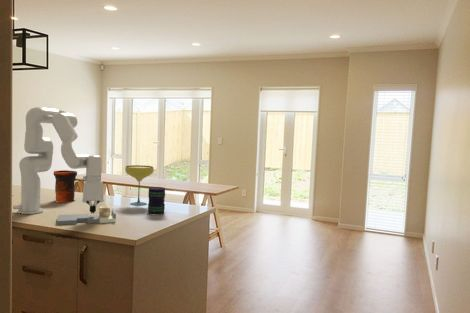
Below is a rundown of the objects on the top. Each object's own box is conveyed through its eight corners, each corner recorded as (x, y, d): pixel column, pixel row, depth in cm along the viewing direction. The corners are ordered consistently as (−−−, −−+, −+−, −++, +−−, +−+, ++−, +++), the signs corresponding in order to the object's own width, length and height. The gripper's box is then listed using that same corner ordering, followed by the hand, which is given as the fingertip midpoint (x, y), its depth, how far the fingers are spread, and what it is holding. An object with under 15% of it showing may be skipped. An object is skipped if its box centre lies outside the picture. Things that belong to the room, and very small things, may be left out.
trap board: (57, 224, 188) (57, 216, 188) (58, 218, 201) (58, 210, 201) (115, 222, 199) (116, 213, 199) (113, 216, 212) (113, 208, 212)
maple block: (99, 217, 199) (99, 208, 199) (100, 215, 204) (100, 206, 204) (108, 217, 200) (109, 208, 200) (109, 215, 205) (110, 206, 205)
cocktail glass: (148, 201, 263) (149, 165, 261) (155, 206, 247) (156, 167, 245) (121, 202, 254) (123, 165, 253) (127, 207, 238) (128, 167, 237)
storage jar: (144, 213, 223) (145, 188, 223) (153, 210, 233) (154, 186, 232) (158, 215, 220) (159, 189, 219) (167, 212, 229) (168, 187, 228)
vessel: (49, 199, 251) (50, 169, 250) (71, 198, 260) (72, 169, 259) (56, 203, 240) (57, 172, 239) (79, 202, 250) (80, 172, 249)
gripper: (78, 179, 193) (77, 215, 194) (109, 179, 199) (108, 213, 200) (78, 177, 200) (77, 212, 201) (107, 177, 206) (106, 211, 207)
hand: (92, 212), depth 201 cm, fingers closed
